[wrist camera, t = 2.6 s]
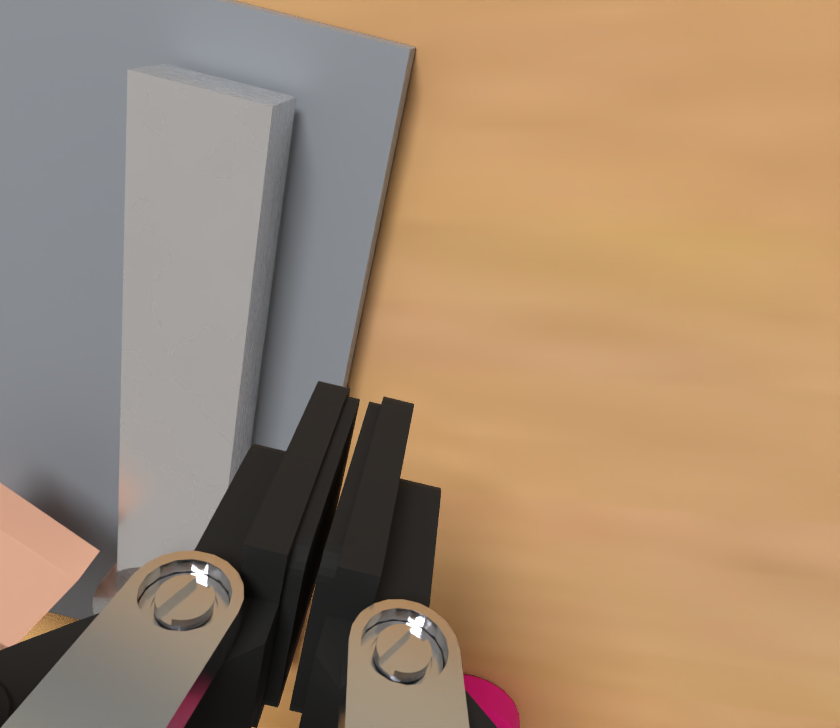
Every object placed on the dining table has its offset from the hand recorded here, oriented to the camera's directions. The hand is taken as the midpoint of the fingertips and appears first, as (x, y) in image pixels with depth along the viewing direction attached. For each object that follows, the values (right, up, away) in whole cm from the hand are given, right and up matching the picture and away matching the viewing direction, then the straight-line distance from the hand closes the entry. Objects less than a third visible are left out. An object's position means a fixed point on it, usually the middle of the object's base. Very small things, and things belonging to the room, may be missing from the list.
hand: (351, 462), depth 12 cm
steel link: (-7, 0, +14) cm, 16 cm away
